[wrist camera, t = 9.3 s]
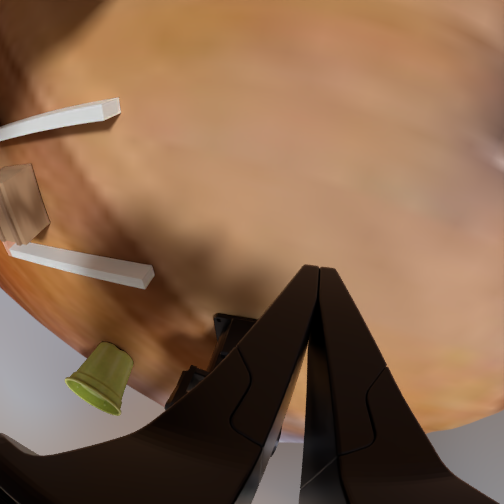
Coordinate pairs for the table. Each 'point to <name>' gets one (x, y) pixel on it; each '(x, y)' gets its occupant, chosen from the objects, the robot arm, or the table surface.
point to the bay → (62, 258)
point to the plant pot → (102, 378)
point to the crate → (20, 205)
